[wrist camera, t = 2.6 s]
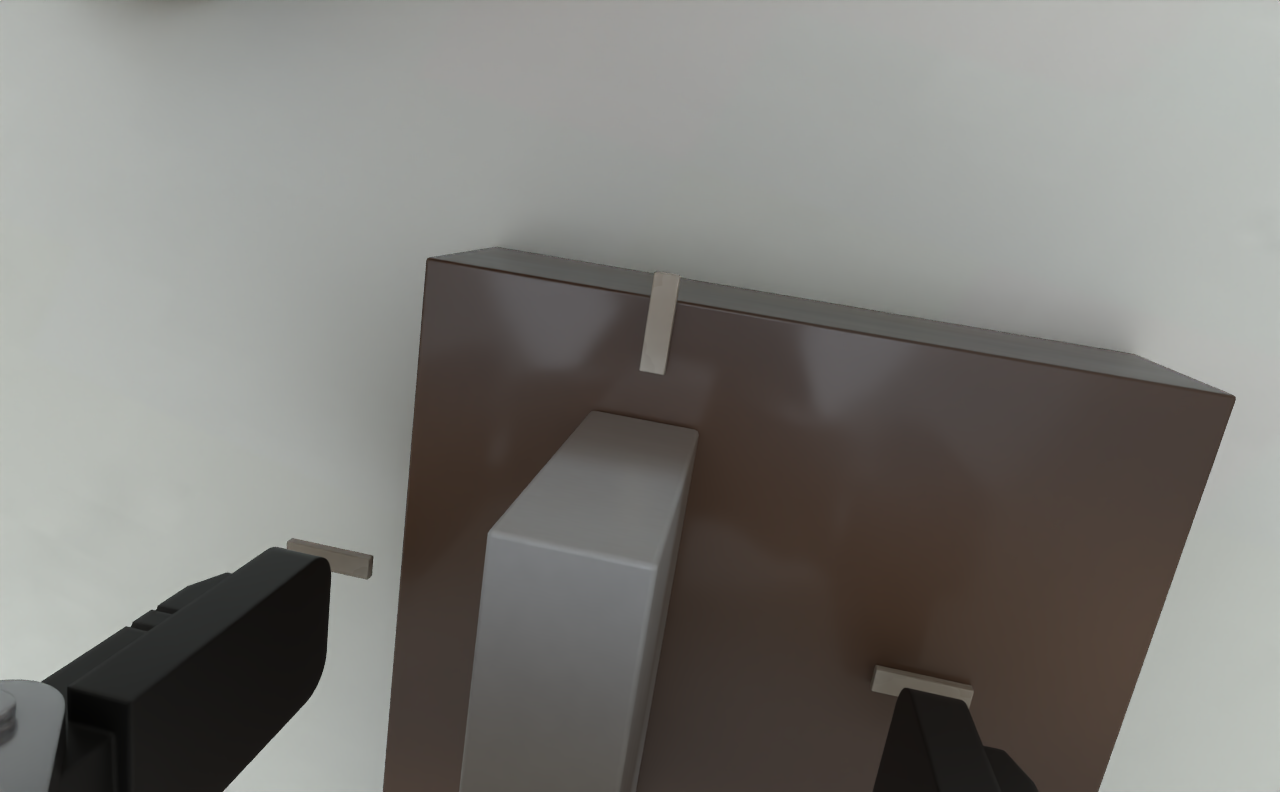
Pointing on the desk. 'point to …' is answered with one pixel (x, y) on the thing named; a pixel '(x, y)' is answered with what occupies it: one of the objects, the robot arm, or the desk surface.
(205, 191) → the desk surface
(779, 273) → the desk surface
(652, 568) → the tap handle
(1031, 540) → the panel
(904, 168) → the desk surface
